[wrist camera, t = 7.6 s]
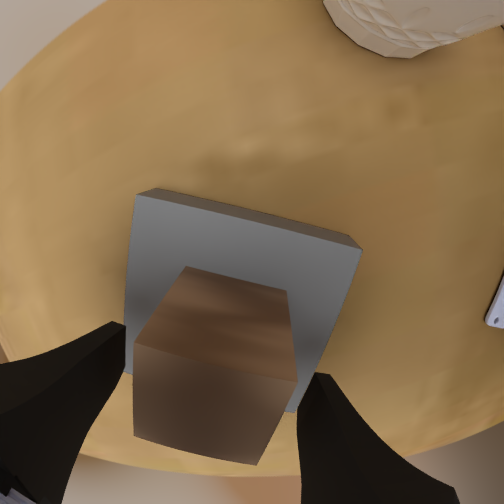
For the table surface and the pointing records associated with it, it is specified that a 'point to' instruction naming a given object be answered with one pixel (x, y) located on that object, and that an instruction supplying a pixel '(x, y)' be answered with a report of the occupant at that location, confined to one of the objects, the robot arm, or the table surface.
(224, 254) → the slate board
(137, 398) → the walnut block
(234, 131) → the table surface
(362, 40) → the white cup
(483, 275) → the table surface
